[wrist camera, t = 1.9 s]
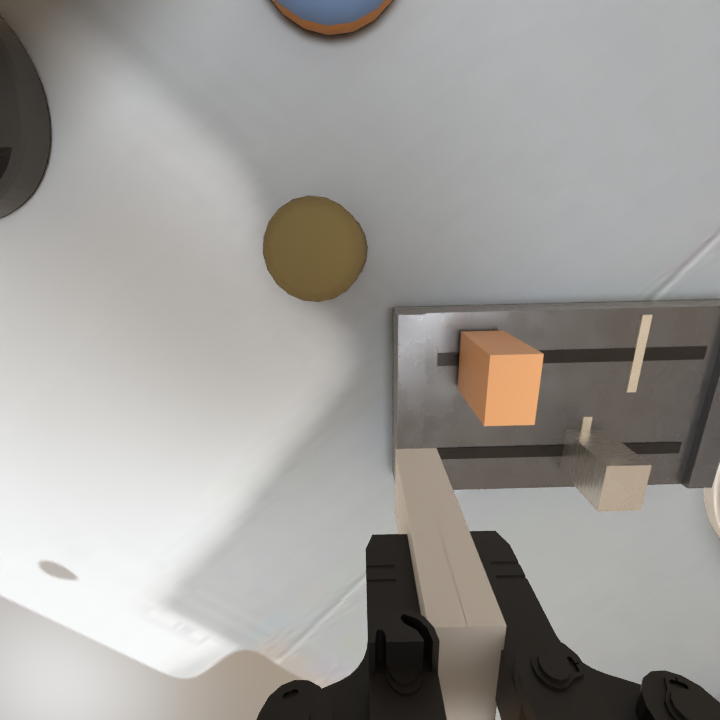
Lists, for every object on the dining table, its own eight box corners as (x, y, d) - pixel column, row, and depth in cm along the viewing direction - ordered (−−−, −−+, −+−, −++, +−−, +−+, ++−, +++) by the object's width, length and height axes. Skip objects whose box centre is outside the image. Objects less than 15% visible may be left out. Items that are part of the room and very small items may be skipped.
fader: (460, 331, 26) (490, 355, 20) (502, 330, 26) (543, 353, 20) (457, 388, 27) (484, 426, 22) (497, 387, 27) (534, 424, 22)
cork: (332, 188, 27) (316, 150, 16) (383, 255, 28) (400, 261, 17) (271, 243, 28) (219, 241, 17) (323, 305, 29) (305, 338, 19)
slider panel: (393, 307, 29) (406, 328, 21) (719, 299, 29) (847, 317, 22) (392, 470, 34) (403, 536, 26) (675, 463, 34) (769, 526, 26)
